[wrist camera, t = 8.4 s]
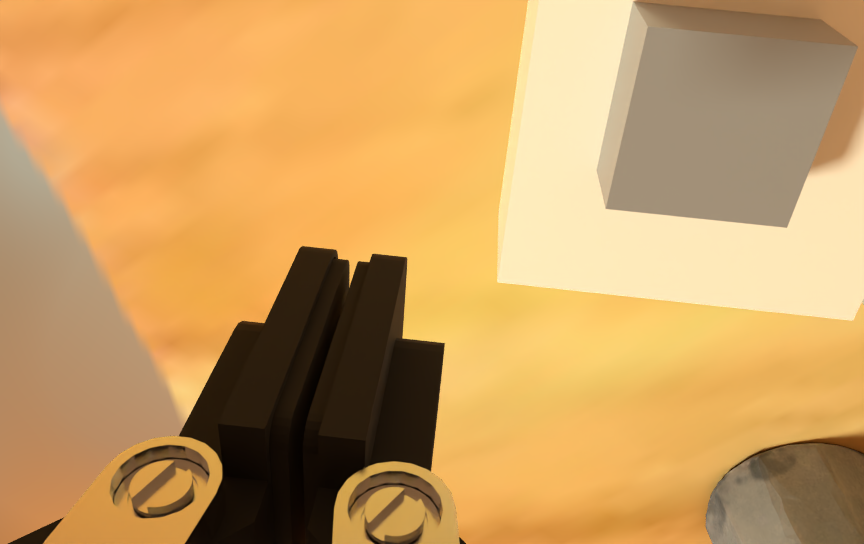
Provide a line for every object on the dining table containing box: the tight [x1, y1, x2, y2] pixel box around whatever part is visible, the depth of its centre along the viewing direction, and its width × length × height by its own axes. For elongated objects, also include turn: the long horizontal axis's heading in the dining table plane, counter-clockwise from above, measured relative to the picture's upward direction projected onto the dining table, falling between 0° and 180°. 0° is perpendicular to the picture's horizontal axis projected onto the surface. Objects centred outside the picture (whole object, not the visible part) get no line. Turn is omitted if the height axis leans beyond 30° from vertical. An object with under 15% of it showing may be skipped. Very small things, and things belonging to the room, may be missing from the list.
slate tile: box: [597, 2, 858, 228], centre depth 20 cm, size 5×5×2 cm
